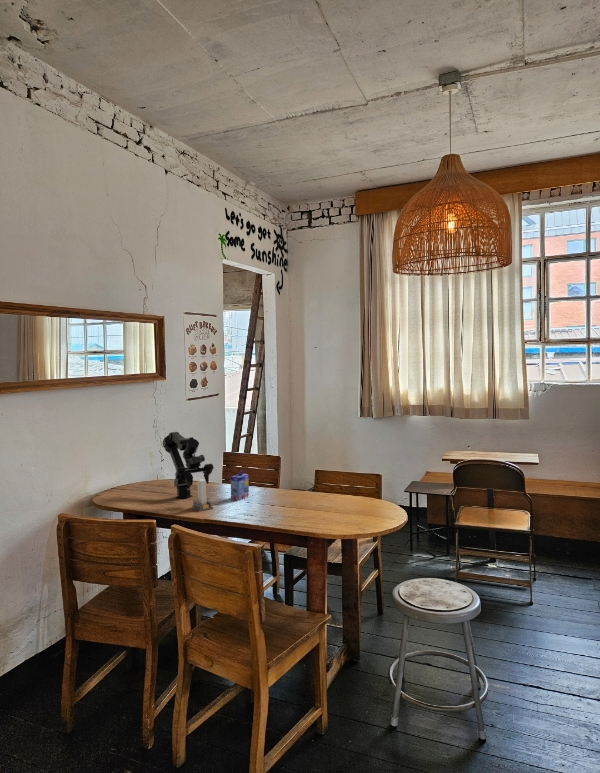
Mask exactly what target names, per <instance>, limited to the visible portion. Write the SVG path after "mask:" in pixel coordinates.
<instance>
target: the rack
mask: <svg viewBox="0 0 600 773" xmlns="http://www.w3.org/2000/svg"><path fill="white" fill-rule="evenodd" d="M192 502H193V505H192V508H193V509H194V510H197V511H198V512H203V511H209V510H213V509H214V508H213V504H212V501H210V500H208V499H207V505H202V504H201V503H199V502H198V500H196V499H194V500H193V501H192Z"/></svg>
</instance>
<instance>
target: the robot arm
mask: <svg viewBox="0 0 600 773" xmlns="http://www.w3.org/2000/svg"><path fill="white" fill-rule="evenodd" d="M199 445H200V442H199V440H197V439H195V438H194V437H192V436H191V437H188V438H187V437H184V436H182V435H181V434H180V432H178V431H173V432H172V431H171V432H170V433H168V435H166V436H165V437H164V438H163V440H162V447H163V448H164V450H165V451H166V452H167V453H168V454H169V455H170V458H171V460H172V463H173V465H174V469H175V473H174V474H175V478H174V481H173V484H174V487H175V488H176V489H177V490H176V491H177V492H176V493H177V494H176V496H175V497H176V498H175V499H181V498H182V499H183V500H185V499H187V498H190V497H193V495H191V494H192V493H191V486H193V482H194V476H193V474H194V473H195V474H196V473H203V478H204V480H205V481H206V485H208V484H209V483H210V482H209V479H210V478H209V477H210V474H213V473H212V472H213V470H214V464H213V463H206V464H204V466H203V467H201V464H202V463H203V462H205V461H206V458H205V455H204V454H200V455H198V456H196V453H197V452H198V448H199ZM180 451H181V452H182V451H183V452H182V457H181V454H180ZM182 459H184V461H183V460H182ZM184 462H185V464H184ZM182 499H181V500H182Z"/></svg>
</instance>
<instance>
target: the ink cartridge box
mask: <svg viewBox="0 0 600 773" xmlns="http://www.w3.org/2000/svg"><path fill="white" fill-rule="evenodd" d="M244 472H245V470H240V471H239V472H238V474H235V475H232V476H230V500H231V499H232V501H237V500H239V501H241V499H242V500H244V499H246V498H245V497H247V498H248V496H250V492H249V491H250V488H249V487H250V486H249V484H250V483H249V482H250V479H249V474H248V473H244ZM243 498H244V499H243Z"/></svg>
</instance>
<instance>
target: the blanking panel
mask: <svg viewBox="0 0 600 773" xmlns="http://www.w3.org/2000/svg"><path fill="white" fill-rule="evenodd" d="M196 484H197V486H196V487H197V502H199V503H201V504H202V505H207V500H208V498H207V483H206V480H205V479H203V478H200V479H196Z"/></svg>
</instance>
